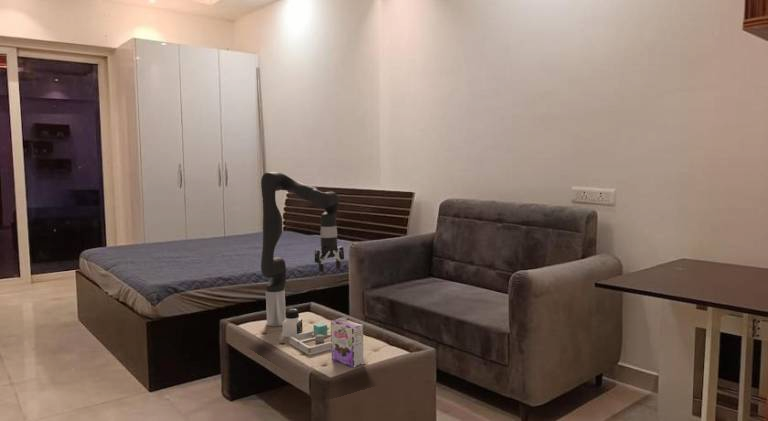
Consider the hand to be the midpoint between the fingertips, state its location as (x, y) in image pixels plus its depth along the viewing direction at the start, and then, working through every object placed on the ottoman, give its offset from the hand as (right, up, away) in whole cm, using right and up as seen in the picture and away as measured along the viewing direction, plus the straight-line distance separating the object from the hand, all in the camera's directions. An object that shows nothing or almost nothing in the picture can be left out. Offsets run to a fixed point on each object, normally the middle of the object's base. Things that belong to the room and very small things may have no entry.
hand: (329, 270), depth 253 cm
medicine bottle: (-18, -31, +3) cm, 35 cm away
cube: (-4, -29, -4) cm, 29 cm away
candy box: (+10, -34, -30) cm, 46 cm away
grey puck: (-3, -30, -14) cm, 33 cm away
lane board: (-4, -31, -9) cm, 33 cm away
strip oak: (+1, -30, 0) cm, 30 cm away
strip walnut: (-1, -32, -12) cm, 34 cm away
